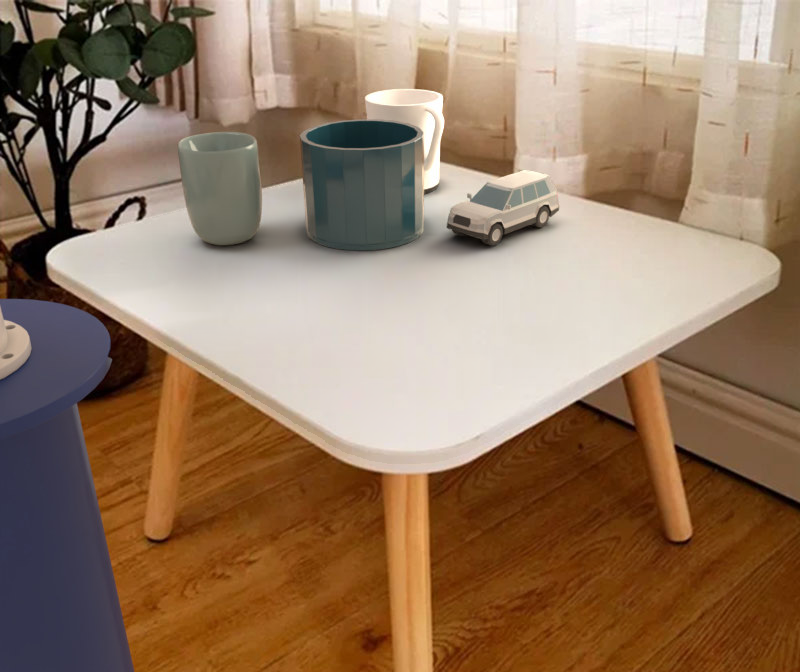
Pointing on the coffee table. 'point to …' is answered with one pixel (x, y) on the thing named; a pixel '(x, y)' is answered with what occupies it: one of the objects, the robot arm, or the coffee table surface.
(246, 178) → the cup
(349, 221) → the teal plant pot
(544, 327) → the coffee table surface
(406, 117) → the mug
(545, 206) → the toy car
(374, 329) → the coffee table surface
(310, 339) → the coffee table surface
